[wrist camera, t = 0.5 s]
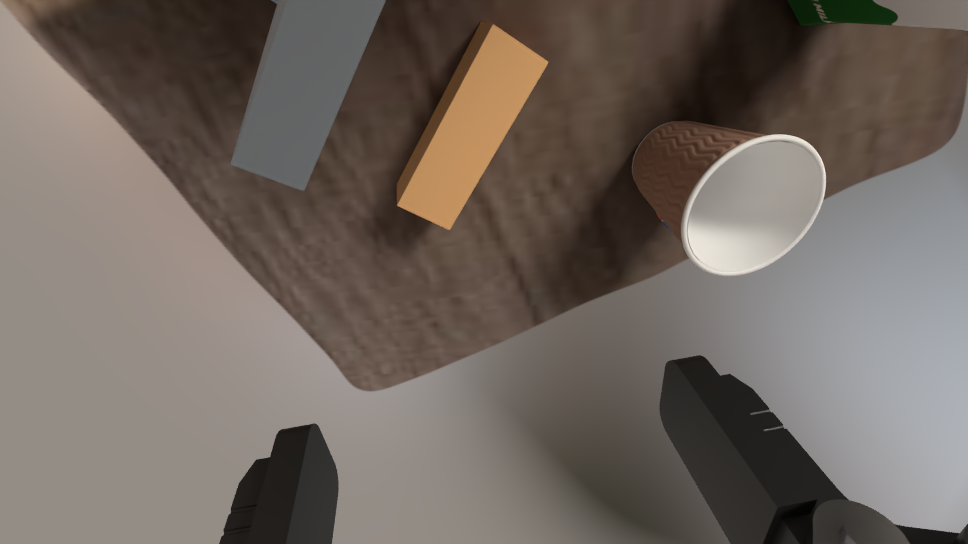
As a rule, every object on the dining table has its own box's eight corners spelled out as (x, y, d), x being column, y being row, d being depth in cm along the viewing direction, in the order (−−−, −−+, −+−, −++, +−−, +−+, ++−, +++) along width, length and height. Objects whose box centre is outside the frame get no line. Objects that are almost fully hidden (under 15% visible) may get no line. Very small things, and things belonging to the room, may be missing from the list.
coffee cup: (610, 220, 45) (674, 287, 34) (615, 108, 39) (693, 147, 29) (712, 204, 45) (805, 264, 35) (731, 92, 40) (846, 124, 30)
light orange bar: (480, 20, 35) (493, 23, 30) (530, 54, 36) (548, 62, 32) (396, 183, 40) (396, 205, 35) (443, 206, 41) (449, 230, 37)
